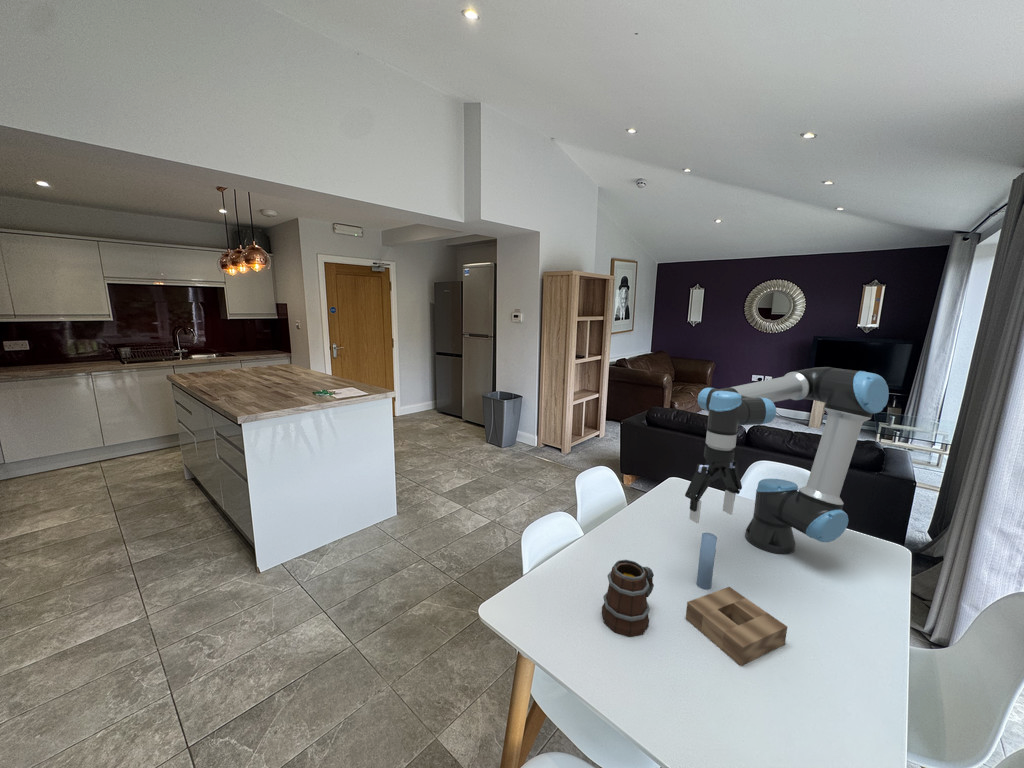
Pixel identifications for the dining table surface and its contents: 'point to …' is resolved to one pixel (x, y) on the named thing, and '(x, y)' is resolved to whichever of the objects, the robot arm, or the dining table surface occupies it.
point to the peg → (706, 561)
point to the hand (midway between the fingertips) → (711, 516)
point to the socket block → (736, 625)
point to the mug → (628, 598)
